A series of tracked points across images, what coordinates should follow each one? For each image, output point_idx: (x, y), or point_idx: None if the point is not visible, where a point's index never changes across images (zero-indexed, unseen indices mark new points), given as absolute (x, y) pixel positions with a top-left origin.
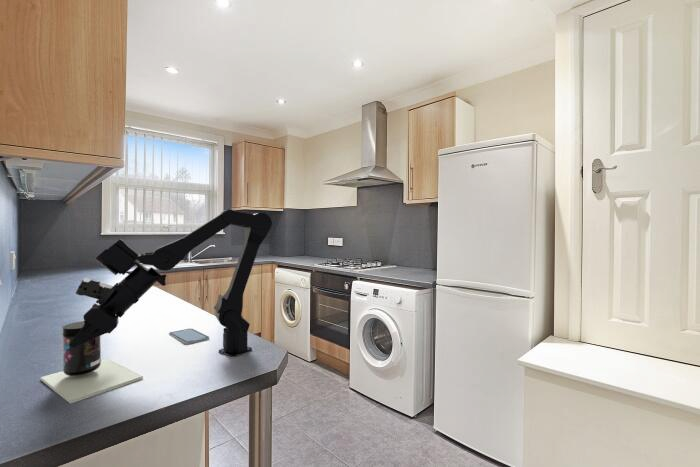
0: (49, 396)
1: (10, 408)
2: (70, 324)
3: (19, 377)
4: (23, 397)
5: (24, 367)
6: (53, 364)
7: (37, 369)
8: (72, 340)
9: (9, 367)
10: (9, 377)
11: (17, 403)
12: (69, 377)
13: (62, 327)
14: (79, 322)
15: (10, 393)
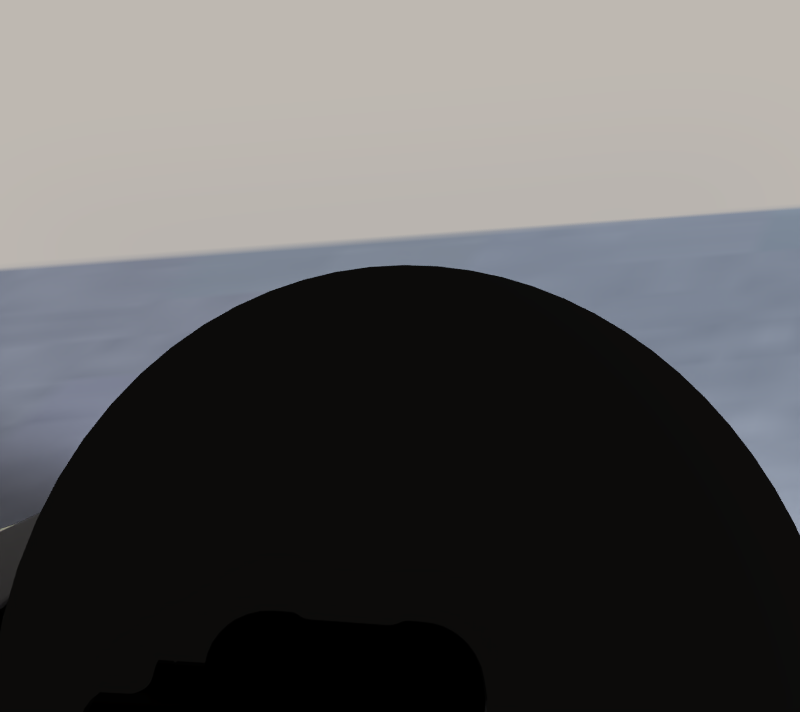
0: (37, 473)
1: (2, 288)
2: (596, 384)
3: (567, 279)
4: (158, 330)
5: (744, 286)
6: (746, 428)
7: (678, 350)
8: (34, 518)
9: (770, 224)
10: (593, 238)
11: (66, 312)
12: None
13: (391, 268)
14: (718, 543)
15: (294, 265)
